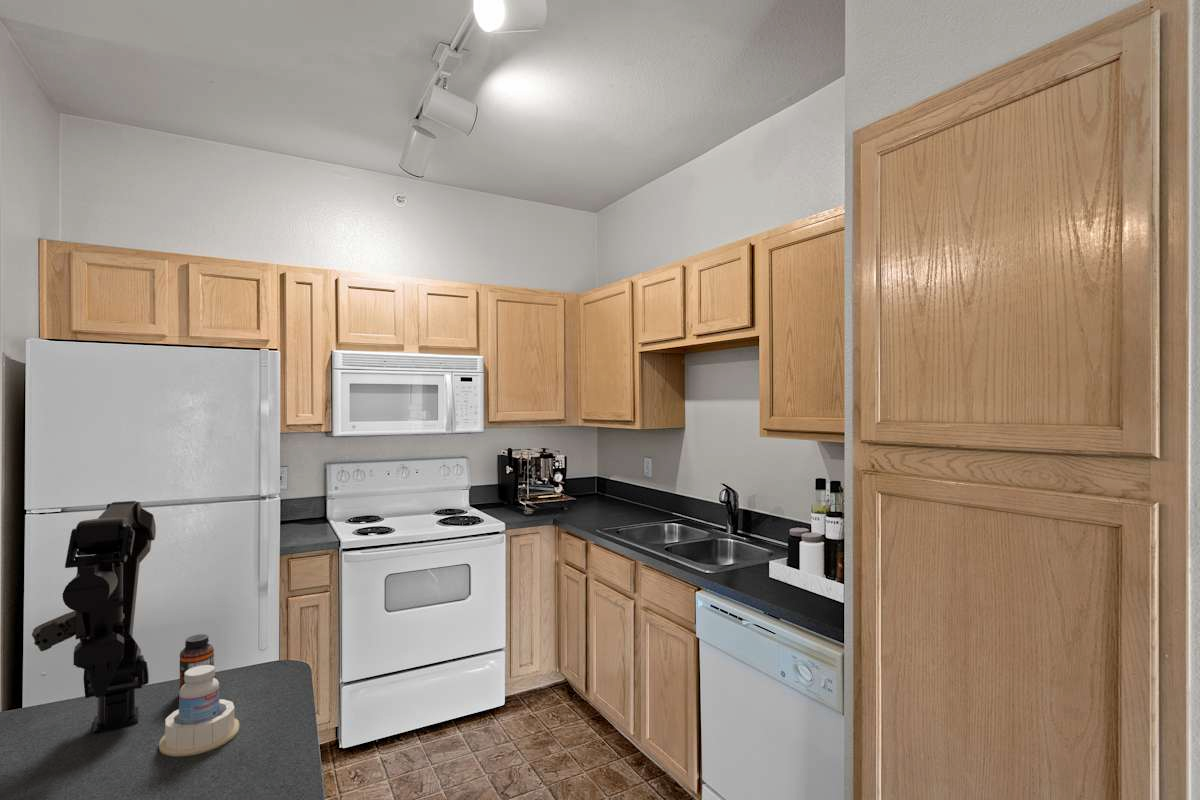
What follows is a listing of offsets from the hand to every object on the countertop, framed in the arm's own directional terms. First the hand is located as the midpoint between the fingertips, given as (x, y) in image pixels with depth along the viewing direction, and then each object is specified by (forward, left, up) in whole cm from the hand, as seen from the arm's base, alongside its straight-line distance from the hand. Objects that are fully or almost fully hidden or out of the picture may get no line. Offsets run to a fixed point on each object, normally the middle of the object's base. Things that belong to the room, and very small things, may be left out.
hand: (100, 686), depth 103 cm
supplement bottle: (-18, +15, -12) cm, 26 cm away
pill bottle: (+3, +14, -11) cm, 18 cm away
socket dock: (+3, +14, -12) cm, 19 cm away
